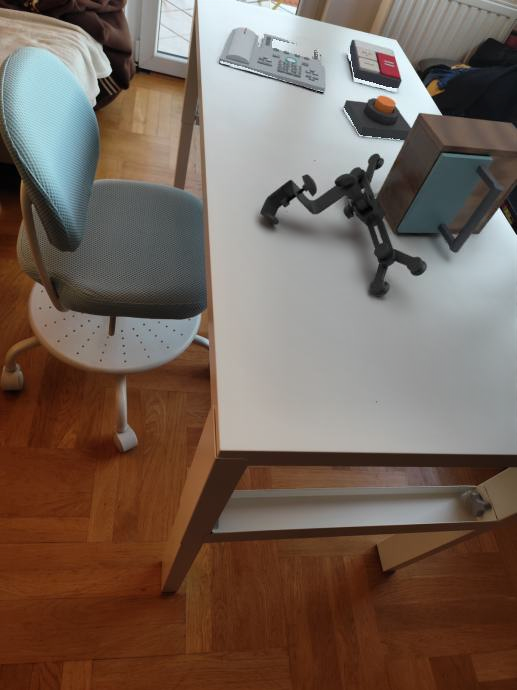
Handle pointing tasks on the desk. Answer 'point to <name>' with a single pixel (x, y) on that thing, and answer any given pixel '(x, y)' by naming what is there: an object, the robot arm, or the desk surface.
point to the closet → (454, 138)
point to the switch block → (377, 120)
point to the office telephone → (273, 59)
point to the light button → (384, 104)
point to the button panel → (374, 64)
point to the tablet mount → (350, 214)
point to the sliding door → (451, 197)
